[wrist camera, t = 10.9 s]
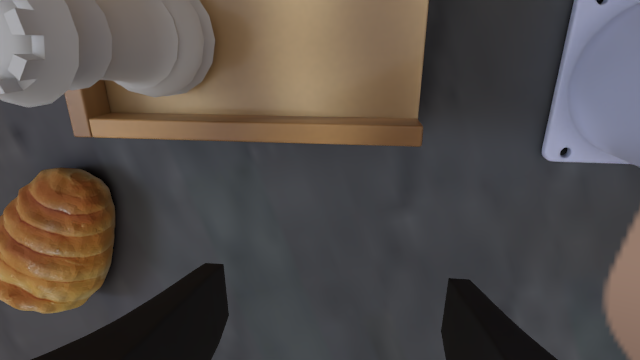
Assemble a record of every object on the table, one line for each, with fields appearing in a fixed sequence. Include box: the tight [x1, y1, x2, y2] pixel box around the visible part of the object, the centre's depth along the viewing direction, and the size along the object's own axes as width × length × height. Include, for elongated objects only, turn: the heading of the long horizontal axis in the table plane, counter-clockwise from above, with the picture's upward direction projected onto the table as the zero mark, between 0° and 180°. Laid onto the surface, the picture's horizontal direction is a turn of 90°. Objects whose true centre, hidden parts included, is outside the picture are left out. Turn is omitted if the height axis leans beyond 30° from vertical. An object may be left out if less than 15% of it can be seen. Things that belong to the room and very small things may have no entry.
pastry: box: [0, 168, 115, 313], centre depth 22 cm, size 9×7×4 cm
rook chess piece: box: [0, 0, 215, 107], centre depth 11 cm, size 4×4×8 cm
